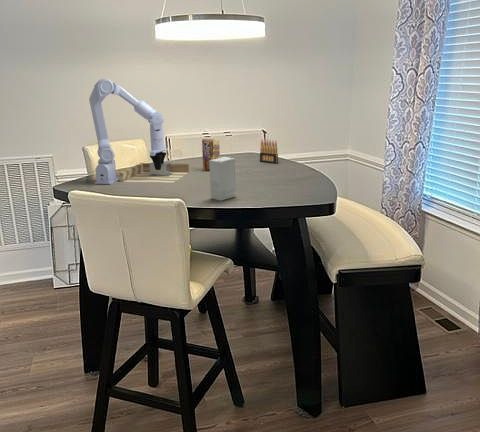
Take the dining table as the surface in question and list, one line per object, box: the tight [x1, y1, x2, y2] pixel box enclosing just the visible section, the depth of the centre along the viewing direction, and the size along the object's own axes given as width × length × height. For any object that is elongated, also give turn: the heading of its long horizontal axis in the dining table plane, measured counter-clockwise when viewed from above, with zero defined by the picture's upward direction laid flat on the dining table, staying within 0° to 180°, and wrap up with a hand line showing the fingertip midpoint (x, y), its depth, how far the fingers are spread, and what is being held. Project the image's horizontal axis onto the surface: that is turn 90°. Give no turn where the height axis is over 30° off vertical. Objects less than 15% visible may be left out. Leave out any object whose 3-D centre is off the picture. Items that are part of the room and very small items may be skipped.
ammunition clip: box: [259, 139, 279, 165], centre depth 261 cm, size 11×2×12 cm, turn 49°
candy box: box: [201, 138, 221, 173], centre depth 242 cm, size 9×4×15 cm, turn 39°
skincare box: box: [209, 156, 237, 201], centre depth 189 cm, size 8×6×15 cm
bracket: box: [149, 161, 171, 176], centre depth 233 cm, size 8×6×5 cm
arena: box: [119, 162, 190, 184], centre depth 229 cm, size 24×24×5 cm
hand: (159, 169), depth 232 cm, fingers closed on bracket, 2 cm apart
